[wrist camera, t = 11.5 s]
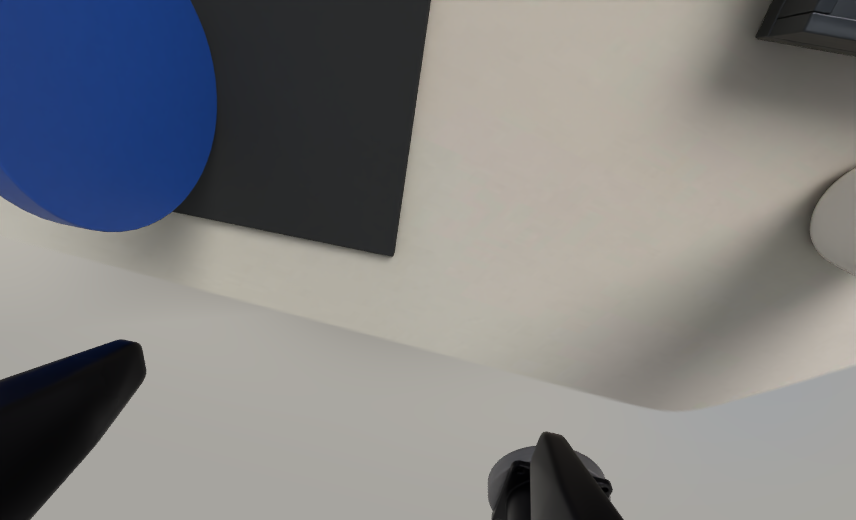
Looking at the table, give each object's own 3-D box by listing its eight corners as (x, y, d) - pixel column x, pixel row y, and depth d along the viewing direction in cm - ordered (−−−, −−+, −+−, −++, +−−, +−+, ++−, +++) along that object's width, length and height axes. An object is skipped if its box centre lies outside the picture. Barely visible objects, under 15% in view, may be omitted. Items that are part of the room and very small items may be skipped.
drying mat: (394, 254, 21) (393, 257, 21) (48, 183, 22) (41, 185, 22) (435, -34, 16) (434, -36, 15) (-30, -117, 16) (-41, -121, 16)
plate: (211, -33, 17) (-116, -188, 7) (222, 196, 21) (19, 278, 11) (184, -38, 17) (-174, -198, 7) (200, 191, 21) (-20, 270, 11)
